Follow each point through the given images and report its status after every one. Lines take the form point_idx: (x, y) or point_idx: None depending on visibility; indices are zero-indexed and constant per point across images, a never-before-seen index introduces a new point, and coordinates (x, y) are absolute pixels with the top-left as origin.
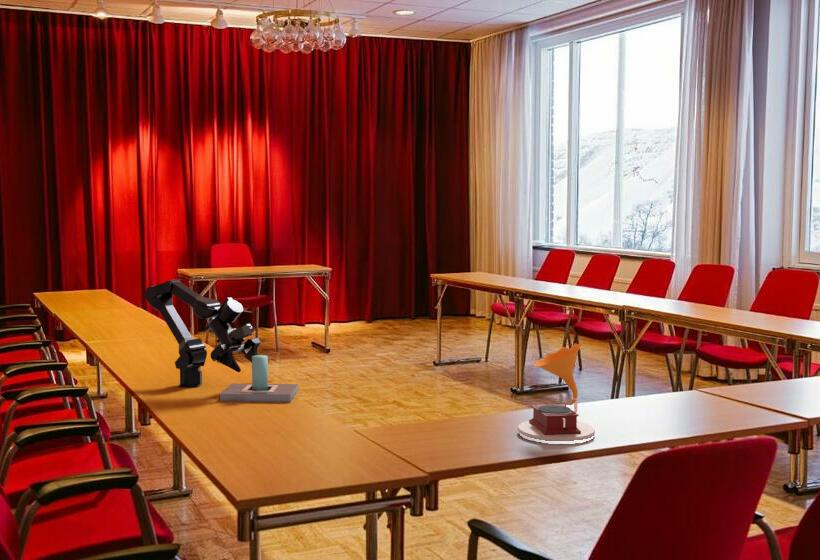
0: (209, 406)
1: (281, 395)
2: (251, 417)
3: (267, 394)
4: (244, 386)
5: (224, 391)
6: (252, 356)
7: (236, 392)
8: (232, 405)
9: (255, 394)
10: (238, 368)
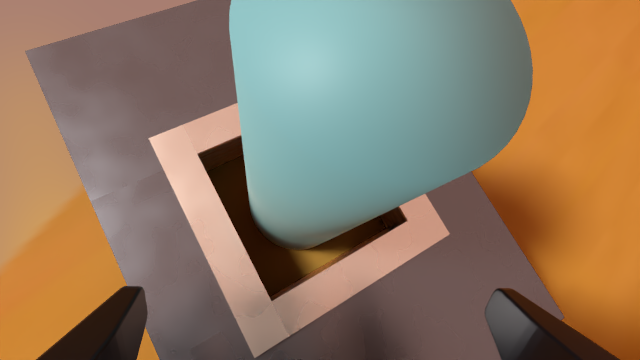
0: (616, 278)
1: None
2: (596, 4)
3: None
4: (301, 351)
5: None
6: (481, 152)
7: (477, 249)
8: (531, 192)
9: None
10: (540, 311)
